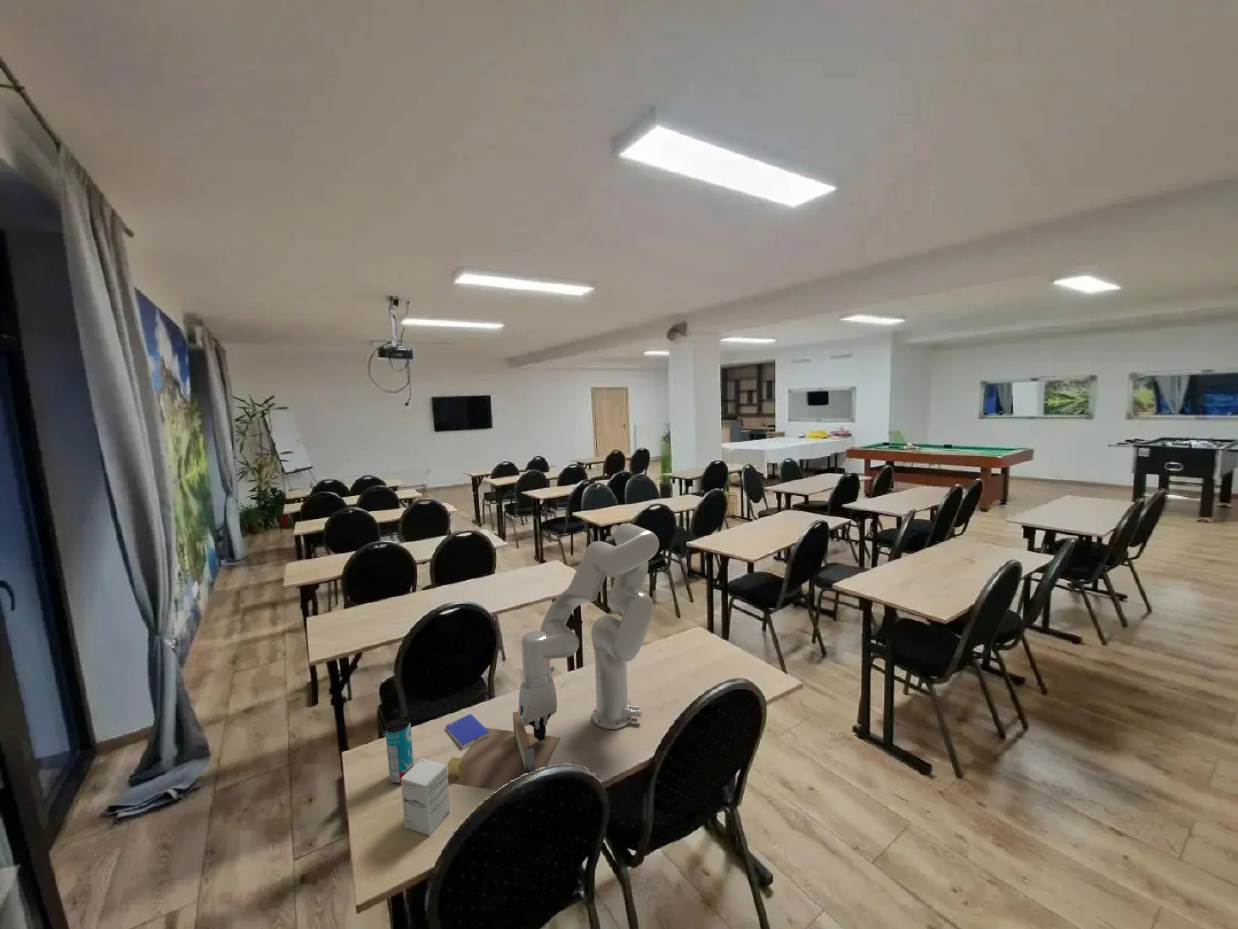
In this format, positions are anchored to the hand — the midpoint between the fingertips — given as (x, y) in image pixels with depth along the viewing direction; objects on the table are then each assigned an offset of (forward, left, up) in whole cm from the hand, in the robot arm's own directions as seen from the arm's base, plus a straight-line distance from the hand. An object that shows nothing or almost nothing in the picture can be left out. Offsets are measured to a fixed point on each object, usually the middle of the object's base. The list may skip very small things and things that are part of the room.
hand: (540, 738), depth 142 cm
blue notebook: (+23, 0, -2) cm, 23 cm away
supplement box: (+16, +30, -2) cm, 34 cm away
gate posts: (+7, +15, -2) cm, 16 cm away
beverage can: (+31, +19, -2) cm, 36 cm away
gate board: (+7, +8, -2) cm, 11 cm away
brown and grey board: (+3, +5, -1) cm, 6 cm away
